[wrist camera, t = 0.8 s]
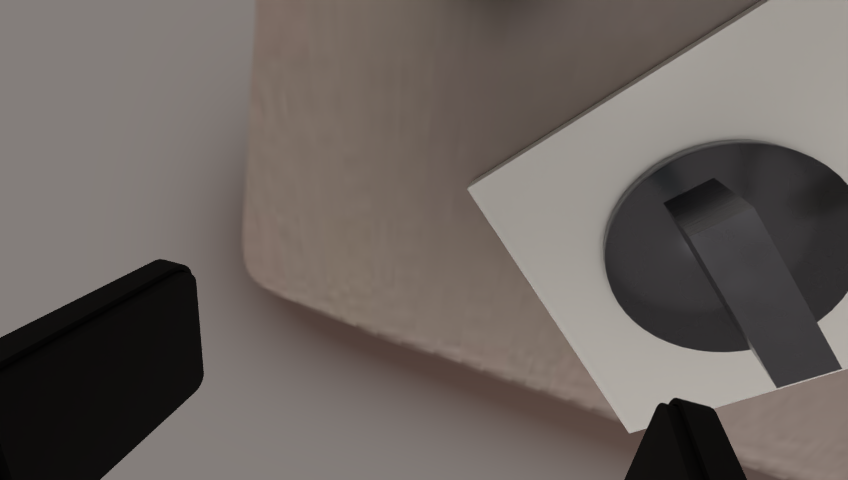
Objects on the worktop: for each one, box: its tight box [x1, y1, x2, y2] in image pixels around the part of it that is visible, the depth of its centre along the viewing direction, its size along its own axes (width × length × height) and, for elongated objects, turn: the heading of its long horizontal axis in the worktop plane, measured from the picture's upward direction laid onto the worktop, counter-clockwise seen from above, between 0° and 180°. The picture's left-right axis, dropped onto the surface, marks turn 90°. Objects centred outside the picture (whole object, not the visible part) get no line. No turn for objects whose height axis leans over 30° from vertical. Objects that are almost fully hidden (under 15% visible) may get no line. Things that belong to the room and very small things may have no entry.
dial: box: [603, 139, 848, 388], centre depth 26 cm, size 14×14×8 cm
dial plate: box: [467, 0, 848, 433], centre depth 31 cm, size 24×24×2 cm
